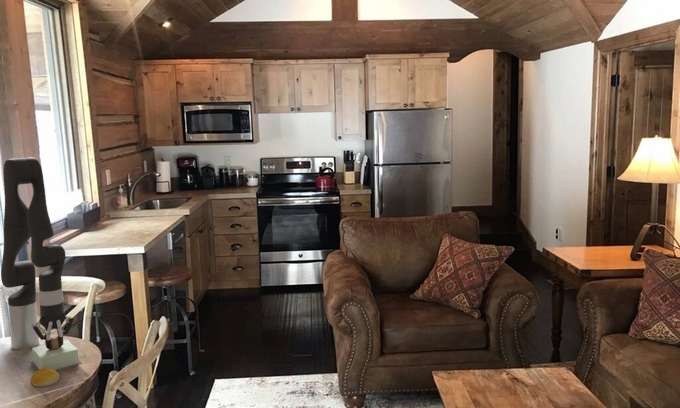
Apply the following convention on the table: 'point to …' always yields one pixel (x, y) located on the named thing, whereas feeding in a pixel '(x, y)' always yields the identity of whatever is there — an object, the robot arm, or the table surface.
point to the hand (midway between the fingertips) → (54, 347)
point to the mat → (56, 369)
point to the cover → (55, 355)
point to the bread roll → (44, 377)
